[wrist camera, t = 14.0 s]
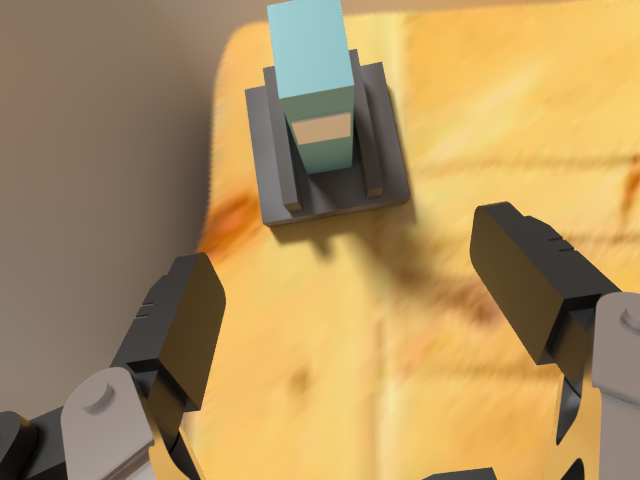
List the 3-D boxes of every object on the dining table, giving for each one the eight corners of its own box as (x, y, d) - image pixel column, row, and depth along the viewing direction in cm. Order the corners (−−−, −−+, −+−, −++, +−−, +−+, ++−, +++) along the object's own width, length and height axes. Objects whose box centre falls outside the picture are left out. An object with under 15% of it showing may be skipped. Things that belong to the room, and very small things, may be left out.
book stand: (379, 75, 32) (385, 37, 27) (405, 203, 30) (417, 187, 25) (250, 101, 33) (233, 68, 28) (268, 227, 31) (252, 216, 26)
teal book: (342, 108, 30) (338, -9, 18) (352, 168, 29) (354, 87, 17) (299, 116, 30) (266, 5, 18) (307, 176, 29) (279, 101, 17)
